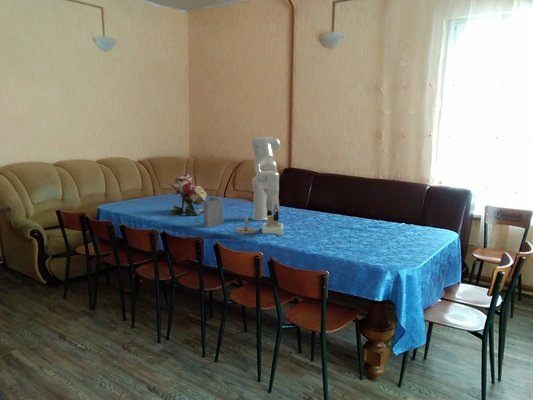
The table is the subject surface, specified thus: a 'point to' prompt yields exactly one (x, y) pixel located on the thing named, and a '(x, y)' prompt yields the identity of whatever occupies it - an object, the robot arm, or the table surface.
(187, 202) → the rose bouquet
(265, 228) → the bin
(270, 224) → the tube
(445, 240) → the table surface
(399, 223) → the table surface
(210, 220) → the grey rectangular slab
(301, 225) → the table surface
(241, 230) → the stud base
